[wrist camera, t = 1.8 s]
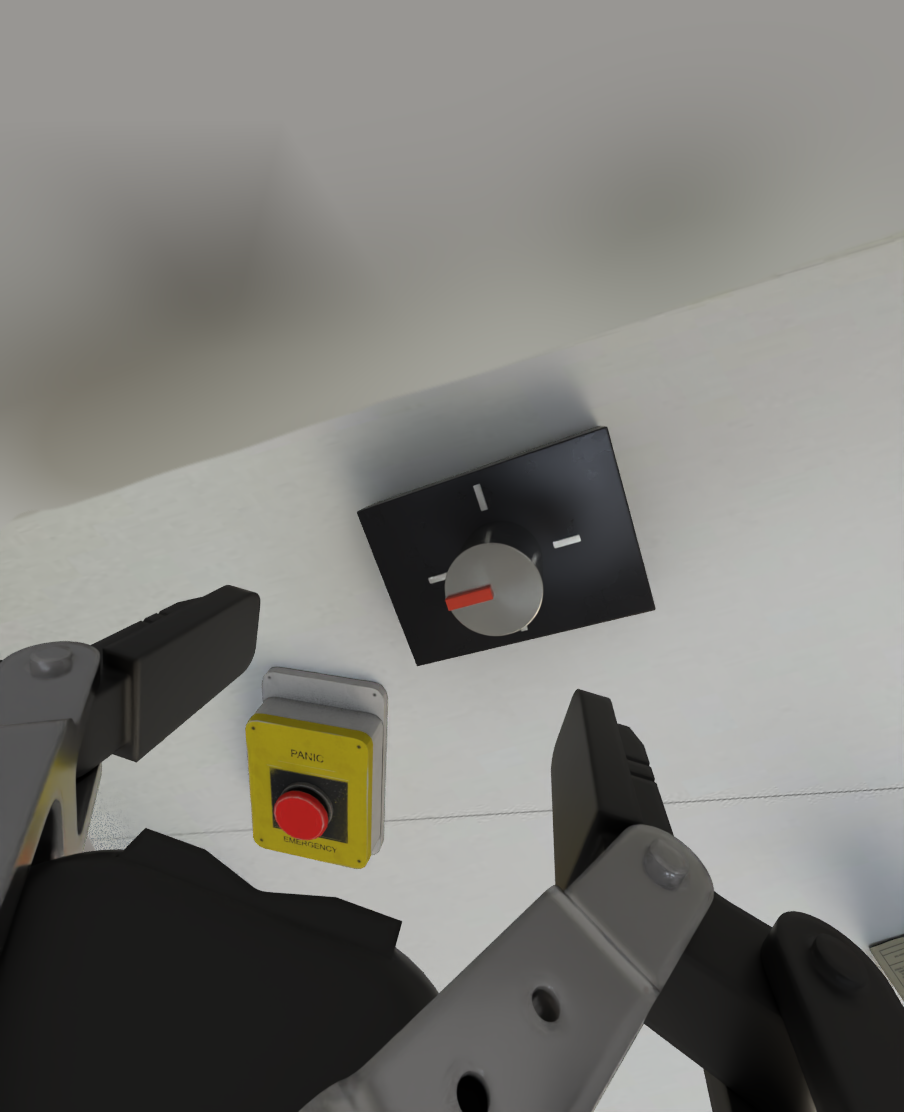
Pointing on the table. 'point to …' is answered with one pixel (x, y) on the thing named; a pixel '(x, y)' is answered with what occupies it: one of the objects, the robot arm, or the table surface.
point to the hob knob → (496, 579)
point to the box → (892, 962)
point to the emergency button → (318, 766)
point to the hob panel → (539, 506)
